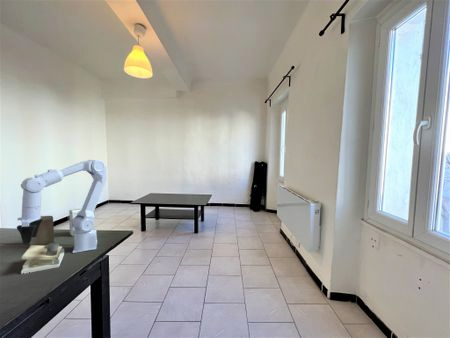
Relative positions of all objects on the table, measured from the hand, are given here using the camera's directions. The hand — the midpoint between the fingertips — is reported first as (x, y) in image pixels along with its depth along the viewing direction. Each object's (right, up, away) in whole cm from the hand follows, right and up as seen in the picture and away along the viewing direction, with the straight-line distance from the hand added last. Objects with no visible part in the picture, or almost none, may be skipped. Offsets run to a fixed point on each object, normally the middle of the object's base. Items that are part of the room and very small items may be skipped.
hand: (29, 239), depth 88 cm
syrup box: (-6, -9, +37) cm, 38 cm away
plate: (+4, -6, +2) cm, 8 cm away
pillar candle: (-14, -10, +22) cm, 27 cm away
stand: (+4, -11, +3) cm, 12 cm away
